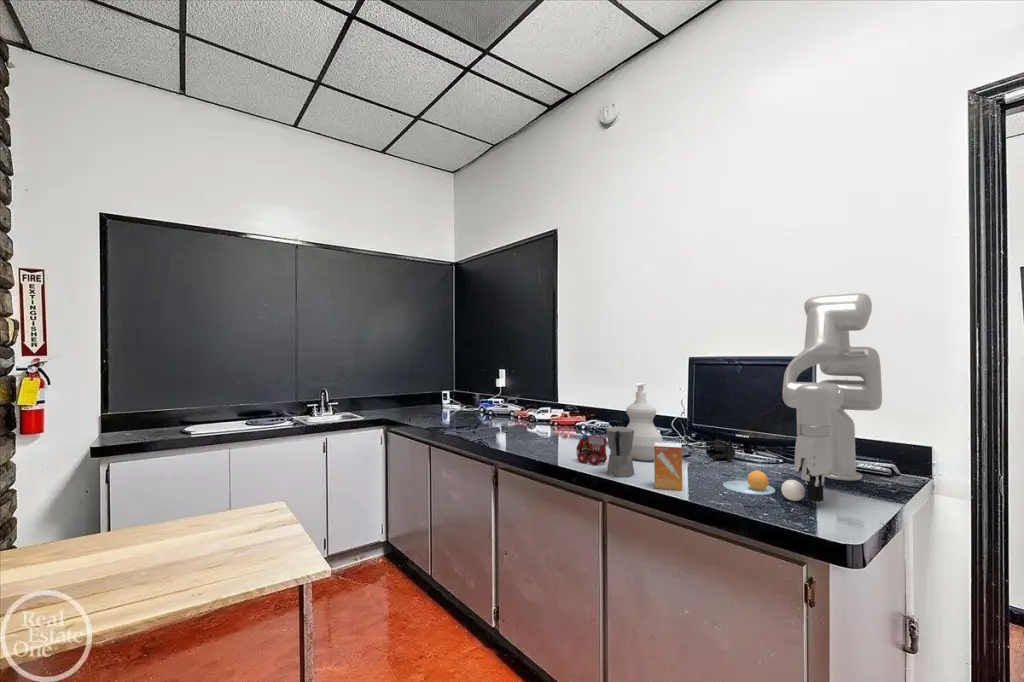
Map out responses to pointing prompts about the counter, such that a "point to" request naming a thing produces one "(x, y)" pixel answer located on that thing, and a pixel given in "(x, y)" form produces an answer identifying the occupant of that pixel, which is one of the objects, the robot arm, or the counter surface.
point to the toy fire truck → (592, 449)
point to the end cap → (720, 451)
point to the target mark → (747, 488)
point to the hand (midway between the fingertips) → (815, 500)
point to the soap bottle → (642, 427)
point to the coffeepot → (620, 451)
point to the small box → (668, 465)
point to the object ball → (757, 480)
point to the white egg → (793, 490)
